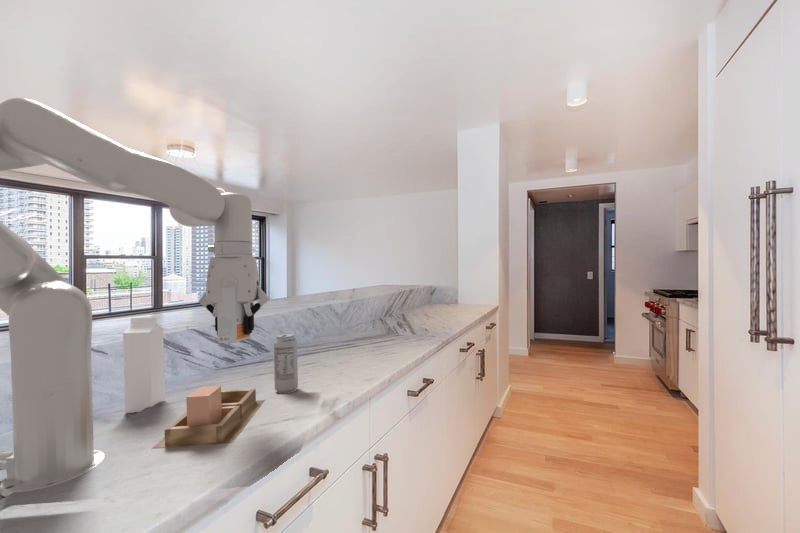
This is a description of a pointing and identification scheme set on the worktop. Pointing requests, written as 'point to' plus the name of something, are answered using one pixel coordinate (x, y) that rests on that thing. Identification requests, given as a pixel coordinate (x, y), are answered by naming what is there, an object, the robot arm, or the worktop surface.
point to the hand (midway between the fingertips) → (234, 333)
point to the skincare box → (230, 317)
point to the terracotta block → (204, 406)
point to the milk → (143, 364)
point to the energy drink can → (285, 363)
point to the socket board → (234, 418)
